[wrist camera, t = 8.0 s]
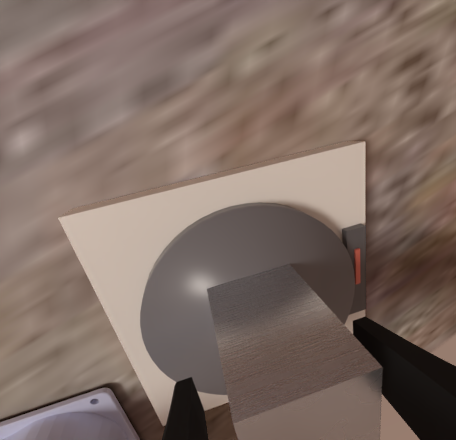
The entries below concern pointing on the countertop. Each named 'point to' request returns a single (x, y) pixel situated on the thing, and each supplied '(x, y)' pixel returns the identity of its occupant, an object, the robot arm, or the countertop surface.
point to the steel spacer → (292, 362)
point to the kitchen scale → (220, 256)
